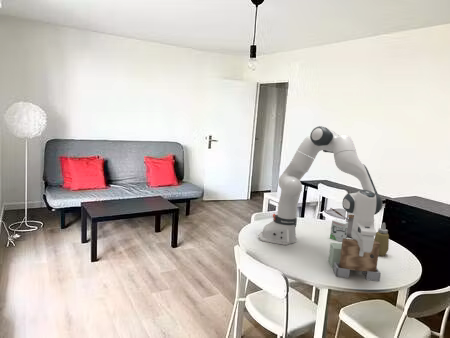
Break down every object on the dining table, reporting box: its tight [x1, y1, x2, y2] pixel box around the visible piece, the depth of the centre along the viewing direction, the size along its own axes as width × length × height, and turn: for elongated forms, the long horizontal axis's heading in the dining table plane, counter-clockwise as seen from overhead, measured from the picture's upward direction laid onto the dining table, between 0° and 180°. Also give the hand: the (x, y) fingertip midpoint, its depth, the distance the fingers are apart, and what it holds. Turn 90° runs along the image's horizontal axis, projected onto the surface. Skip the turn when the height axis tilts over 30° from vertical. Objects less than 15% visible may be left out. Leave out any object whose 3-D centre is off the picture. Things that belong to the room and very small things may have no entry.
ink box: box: [329, 218, 348, 243], centre depth 202 cm, size 9×5×12 cm, turn 48°
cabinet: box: [327, 242, 382, 282], centre depth 161 cm, size 17×20×10 cm
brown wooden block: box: [339, 238, 380, 272], centre depth 154 cm, size 16×4×14 cm, turn 84°
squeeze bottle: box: [374, 222, 390, 257], centre depth 182 cm, size 8×8×18 cm
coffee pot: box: [329, 207, 354, 239], centre depth 212 cm, size 21×12×15 cm, turn 50°
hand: (359, 253), depth 155 cm, fingers closed on brown wooden block, 3 cm apart
